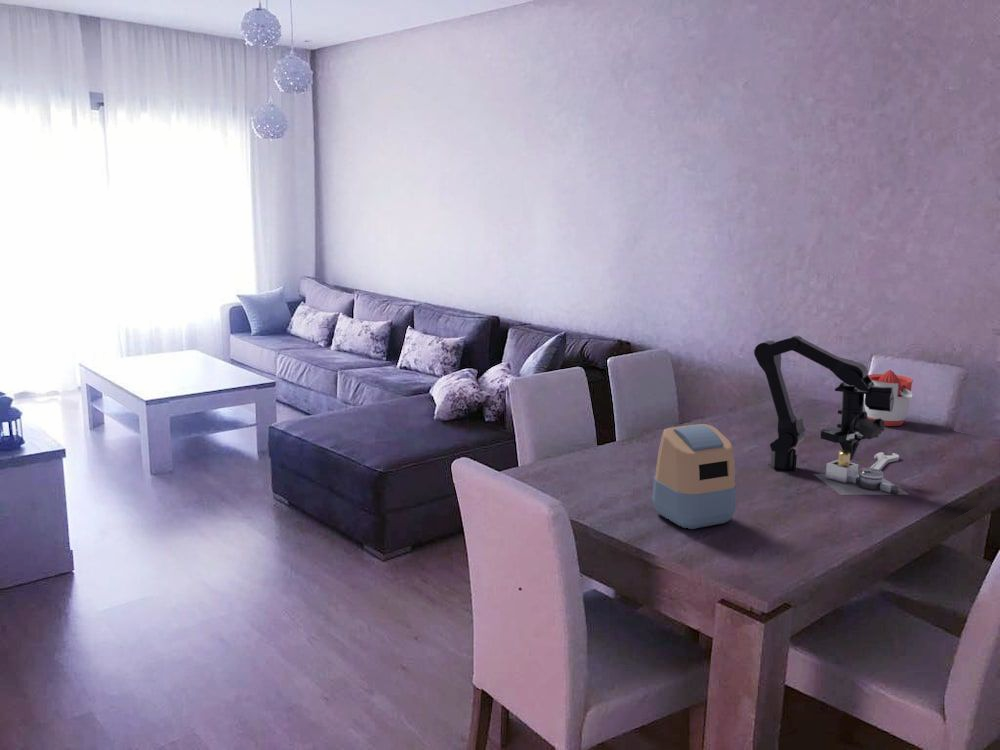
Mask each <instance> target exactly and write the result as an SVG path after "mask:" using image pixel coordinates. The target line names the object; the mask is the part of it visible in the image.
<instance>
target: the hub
mask: <svg viewBox="0 0 1000 750" xmlns="http://www.w3.org/2000/svg"><path fill="white" fill-rule="evenodd" d="M858 474H859V482H858V487H860V488H862V489H865V490H870V491H879V490H880V485H881V483H882V480H883V478H884V472H883V470H882V469H881V470H878V469H873V468H870V467H861V468H860V469H859V470H858Z"/></svg>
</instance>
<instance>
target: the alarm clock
mask: <svg viewBox="0 0 1000 750" xmlns="http://www.w3.org/2000/svg"><path fill="white" fill-rule="evenodd" d="M660 439H661V440H660V442H659V443H660V444H659V447H658V453H657V461H656V468H655V475H654V477H653V486H652V499H651V502H652V505H653V507H654V509H655V510H656V511H657V513H658V514H659V515H660V516H661V517H663V518H665V519H667V520H668V519H669V521H670V522H672V523H674V524H675V525H677V526H679V527H680V526H681V527H680V528H684V529H686V528H688V529H687V530H695V529H698V528H699V529H700V528H704V527H710V526H714V525H716V526H717V525H723V524H725V523H727V522H729V521H730V520H731V519H732V518H733V516H734V513H735V511H736V498H737V494H736V493H737V485H736V479H735V478H736V475H735V474H736V473H735V471H736V470H735V454H734V448H733V444H732V443H731V441H730V440H729V439H728V438H727V437H726V436H724V435H723V434H722V432H720V431H719V430H718V429H717V428H716V427H714V426H713V425H710V424H706V423H696V424H690V425H682V426H681V425H680V426H673V427H668V428H664V430H663V431H662V433H661V438H660Z"/></svg>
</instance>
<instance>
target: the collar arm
mask: <svg viewBox="0 0 1000 750" xmlns="http://www.w3.org/2000/svg"><path fill="white" fill-rule="evenodd" d="M837 463H838V459H834V460H832V461H829V462H826V468H825V474H826V478H829V479H833V480H837V481H840V482H844V483H847V482H851V483H855V484H856V483H858V482H859V475H858V474H859V465H860V464H858V463H854V462H851V461H850V465H849V466H848V467H843V466H839V465H837ZM893 484H894V483H892V484H889V483H885V482H884V483H881V485H880V490H882V491H886V492H890V493H893V494H898V493H899V488H900V486H899V485H897V484H894V485H893Z"/></svg>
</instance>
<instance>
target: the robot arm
mask: <svg viewBox="0 0 1000 750" xmlns="http://www.w3.org/2000/svg"><path fill="white" fill-rule="evenodd" d="M791 351H793V352H795V353H797V354H799V355H801V356H803V357H805V358H807V359H809V360H810V361H812V362H814V363H816V364H818V365H820V366H822V367H824V368H826V369H828V370H829V371H830V372H831V373H833V375H835V377H836V378H837V379H839V380H840V381H841V383H839V385H838V386H837V387H836V388H834V391H835V392H840V393H842V394H841V395H842V396H841V408H840V409H837V414H838V415H840V423H839V422H838V423H837V424H836V428H835V427H827V428H823V429H822V430H821V431H820V435H819V436H820V439H821V440H824V441H828V442H832V443H835V444H836V443H837V444H839V445H840V447H841V450H843V449H845V450H848V451H849V452H850V462H851V461H852V460H853V458H854V455H855V453H856V451H857V449H858V447H859V445H860V443H861V442H863V441H864V440H872V439H874V438H879V436H880V435H881V434H882V432H884V431H885V429H884V428H885V426H884V420H882V419H881V418H879V419H876V420H874V421H873V419H871V420H870V419H868V418H867V412H865V410H864V409H865V405H866V407H869V409H870V410H879V411H888V412H892V410H893V406H894V394H893V387H879V386H875V385H874V383H873V382H872V380H871V379H870V378H869V376H868V375H869V374H868V368H867V367H866V365H865V364H864V363H861V362H859V361H855V360H852V359H849V358H843V357H840V356H838V355H835V354H833V353H831V352H830V351H827V350H825V349H823V348H821V347H820V346H818V345H816V344H814V343H812V342H810V341H809V340H806V339H804V338H803V337H802V336H800V335H794V336H793V335H792V336H790V337H788V338H785V339H781V340H778V341H775V340H771V339H770V340H766V341H764V342H760V343H758V344H757V345H756V347H755V348H754V350H753V355H754V357H755V359H756V362H757V363H758V365H759V367H760V369H761V370H762V371H763V372H764V374H765V377H766V380H767V384H768V387H769V391H770V395H771V397H772V400H773V401H772V402H773V404H774V409H775V412H776V416H777V436H778V438H777V439H775V440H774V441H772V442H771V443H770V444H769V446H770V447H769V448H770V451H771V452H770V463H768V466H769V467H770V468H771V469H772V470H773V471H774V472H797V469H796V468H797V462H798V454H796V453H797V450H796V449H795V448H796V447H797V446H798V444H800V443H801V442H802V441H803V440H804V439H805V432H807V430H806V428H805V426H804V422H803V421H804V420H803V418H801V417H800V418H797V417H796V416H795V414H794V411H793V407H792V405H791V400H790V397H789V394H788V390H787V387H786V383H785V380H784V377H783V373H782V367H781V365H782V354H784V353H788V352H791ZM865 394H866V396H865Z"/></svg>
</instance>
